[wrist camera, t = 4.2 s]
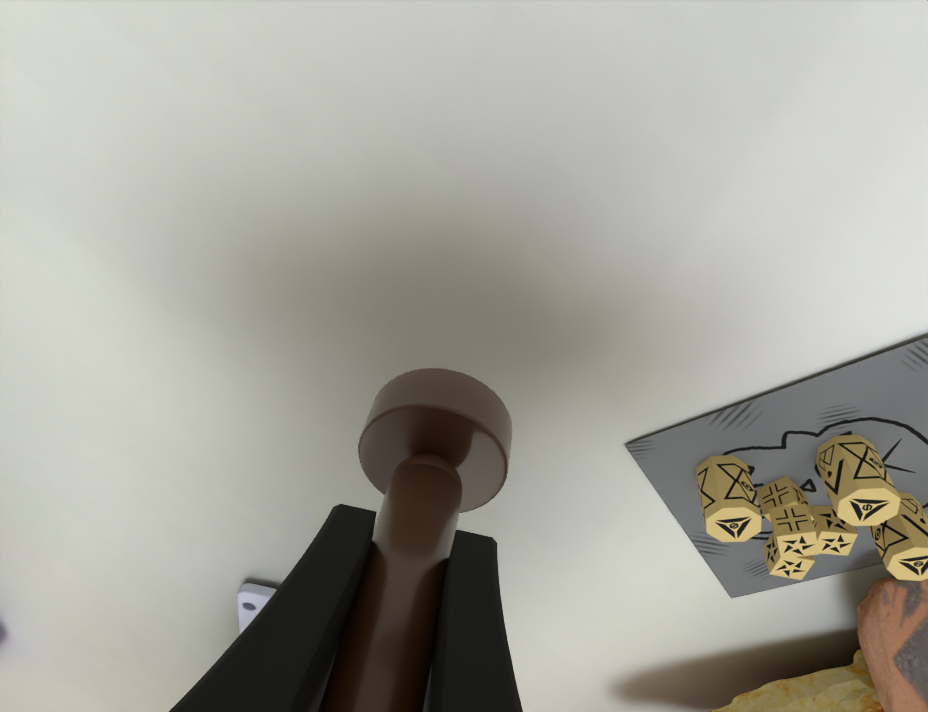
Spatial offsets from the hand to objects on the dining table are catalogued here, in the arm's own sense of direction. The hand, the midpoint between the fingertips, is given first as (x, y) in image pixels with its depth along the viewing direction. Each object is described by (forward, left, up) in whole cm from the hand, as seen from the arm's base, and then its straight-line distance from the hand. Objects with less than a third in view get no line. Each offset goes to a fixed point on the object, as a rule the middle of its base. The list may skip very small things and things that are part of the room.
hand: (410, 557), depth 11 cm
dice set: (-3, -11, -8) cm, 14 cm away
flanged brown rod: (0, 0, -3) cm, 3 cm away
